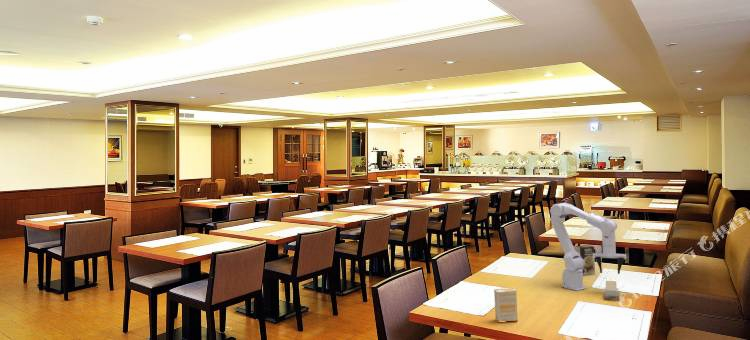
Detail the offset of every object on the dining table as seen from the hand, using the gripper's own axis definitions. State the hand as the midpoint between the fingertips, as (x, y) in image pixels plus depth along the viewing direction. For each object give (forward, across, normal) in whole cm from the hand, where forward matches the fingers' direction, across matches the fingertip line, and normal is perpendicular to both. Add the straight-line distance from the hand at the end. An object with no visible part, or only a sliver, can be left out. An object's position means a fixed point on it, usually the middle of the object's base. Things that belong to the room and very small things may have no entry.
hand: (609, 273), depth 237 cm
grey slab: (+8, 0, -8) cm, 11 cm away
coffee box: (+11, -11, +41) cm, 44 cm away
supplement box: (+11, -42, -53) cm, 69 cm away
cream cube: (+6, 0, -8) cm, 10 cm away
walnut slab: (+11, 0, -8) cm, 14 cm away
